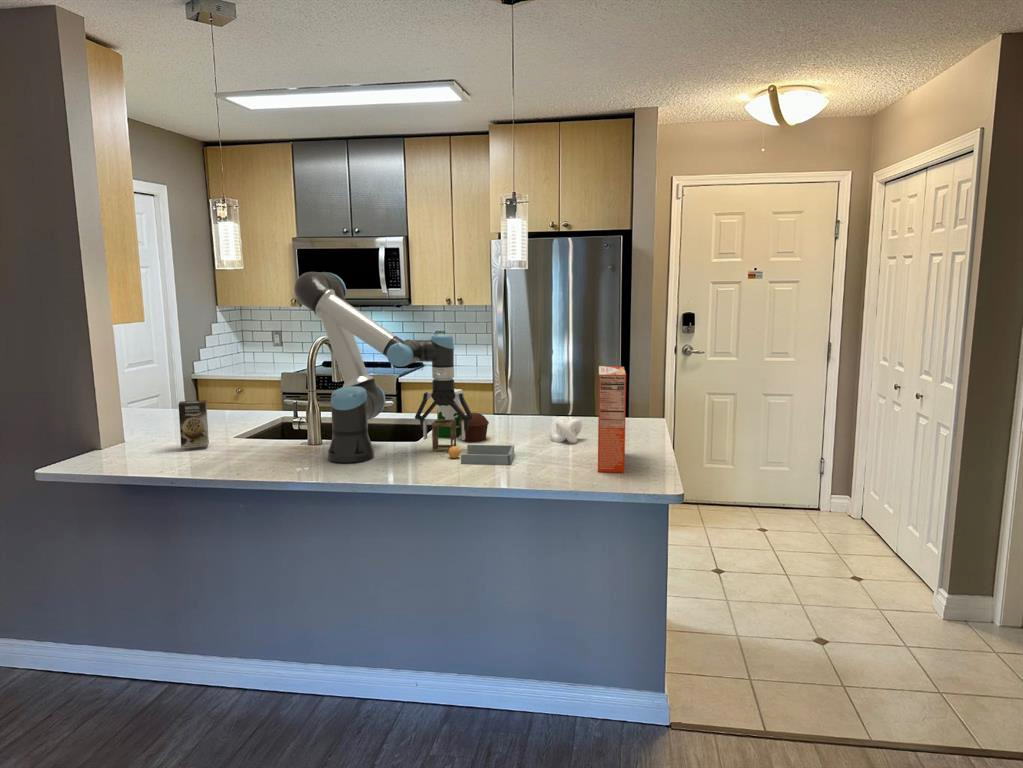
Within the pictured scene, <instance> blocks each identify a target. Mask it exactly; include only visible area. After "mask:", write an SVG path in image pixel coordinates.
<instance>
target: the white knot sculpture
mask: <svg viewBox="0 0 1023 768" xmlns="http://www.w3.org/2000/svg"><path fill="white" fill-rule="evenodd" d="M582 427H583V423H582V421H581V419H579V418H573V419H571V420H570V419H569V418H568V417H566V416H557V418H555V419H554V420H553V421H552V423H551V424H550V427H549V438H550V440H551V441H552V442H553V443H564V442H565V441H566V440H567V441H568V442H569V443H570V444H576V443H577V442H578V435H579V434H580V433H581V430H582Z"/></svg>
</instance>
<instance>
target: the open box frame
mask: <svg viewBox="0 0 1023 768" xmlns="http://www.w3.org/2000/svg"><path fill="white" fill-rule="evenodd" d="M438 426H450V433H451V438H450V444H439V438H438ZM431 435H432V438H431V440H432V442H431V443H432V452H433V453H435V452H436V453H448V451H449V449H450V448H451V447H452V446H457V438H456V420H442V419H437V418H436V419H435V420H434V421H432V423H431ZM438 448H439V449H438ZM442 448H443V449H442Z"/></svg>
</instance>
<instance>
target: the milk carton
mask: <svg viewBox="0 0 1023 768" xmlns="http://www.w3.org/2000/svg"><path fill="white" fill-rule="evenodd" d="M454 392H455V394H458V393H461V392H462V393H463V389H461V388H460V389H457V388H454ZM454 401H455V403H456V404H457V405H458V407H459V408H460V409H461V410H462V411H463V406H462V404H461V402H460V400H459V399H458V398H457V397H455V398H454ZM436 415H437V418H436V419H442V420H456V439H457V438H458V437H460V436H462V434H461V429H460V425H459V421H460V420H461V419H462V418H461V417H460V416H459V414H458V413H457V412H456V411H455V410H454V409H453V407H451V406H450V405H448V406H444V405H442V406H439V405H436ZM438 439H451V433H450V426H438Z"/></svg>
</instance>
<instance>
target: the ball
mask: <svg viewBox="0 0 1023 768" xmlns="http://www.w3.org/2000/svg"><path fill="white" fill-rule="evenodd" d="M448 449H449V451H448V452H447V453H448V456H449V457H450V458H451V459H456V458H458V457H460V456H461V449H460V448H459V447H458V446H457V445H456V446H452V447H451V448H448Z"/></svg>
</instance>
